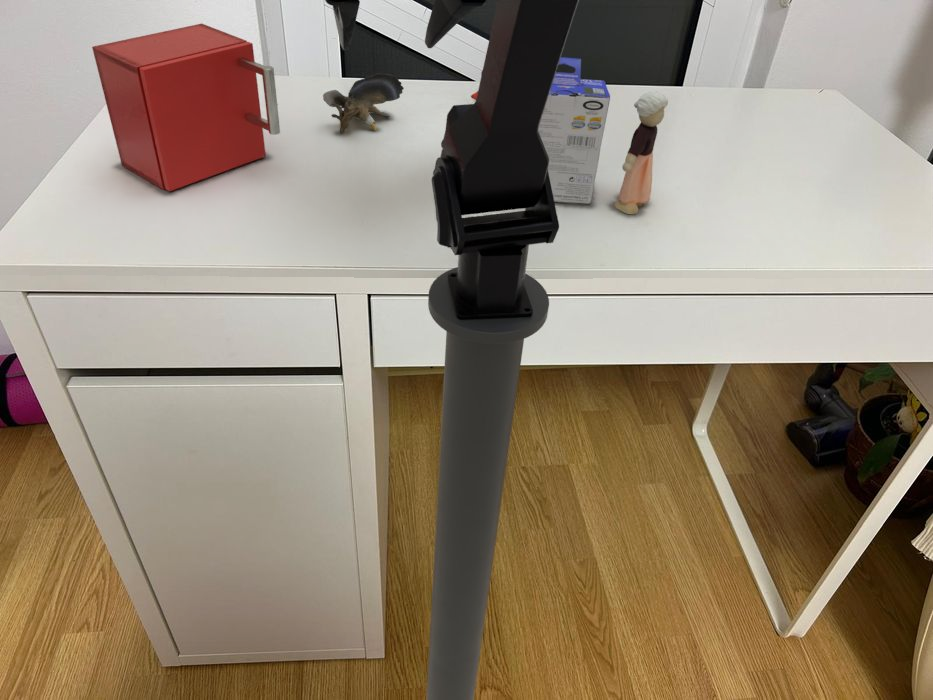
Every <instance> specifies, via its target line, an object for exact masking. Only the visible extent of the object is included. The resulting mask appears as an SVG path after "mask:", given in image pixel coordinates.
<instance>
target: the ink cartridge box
mask: <svg viewBox="0 0 933 700" xmlns="http://www.w3.org/2000/svg"><path fill="white" fill-rule="evenodd" d="M560 65H566V66H569V67H571V68H573V69H574V72H559V71H556V74H555V77H554V80H553V83H552V86H551V90H550V93H549V96H548V99H547V102H546V105H545V108H544V112H543V115H542V118H541V121H540V124H539V129H538V132H539V134H540V137H541V139H542V142H543V144H544V147H545V149H546V152H547V154H548V157H549V166H548V173H549V178H550V183H551V188H552V193H553V198H554V202H555V203H556V202H558V203H571V204H585V205H586V204H587V205H588V204H591V203H592V200H593V194H594V188H595V183H596V178H597V173H598V172H597V171H598V166H599V161H600V154H601V147H602V142H603V138H604V132H605V127H606V121H607V117H608V113H609V105H610V100H611V94H610V92H609V89H608V86H607V84H606V81H605V80H601V79H599V80H598V79H582V78H581V76H582V73H581V72H582V68H581V67H582V59H581V58H575V57H562V56H561V58H560V61H559V65H558V66H560Z"/></svg>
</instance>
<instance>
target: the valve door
mask: <svg viewBox="0 0 933 700" xmlns="http://www.w3.org/2000/svg"><path fill="white" fill-rule="evenodd" d="M253 45H254V44H253V42H250V41H247V42H244V43H240V44H236V45H232V46H228V47H224V48H220V49H215V50H211V51H207V52H203V53H199V54H195V55H190V56H186V57H182V58H178V59H174V60H170V61H165V62H161V63H157V64H153V65H149V66H145V67H141V68H139V70H140V74H141V79H142V83H143V88H144V93H145V97H146V102H147V107H148V111H149V116H150V120H151V125H152V130H153V134H154V139H155V143H156V148H157V153H158V157H159V162H160V167H161V171H162V176H163V180H164V185H165V189H164V190H166V191H168V192H172V191H176V190H177V189H180V188H183V187H185V186H189V185H191V184H193V183H196V182H199V181H202V180H205V179H207V178H210V177H213V176H216V175H219V174H221V173H223V172H227V171H229V170H232V169H235V168H237V167H240V166H243V165H247V164H248V163H251V162H253V161H256V160H259V159H262V158H265V157H266V156H267V154H266V145H265V138H264V130H266V131H268V133H269V135H273V136H276V135H280V134H281V127H280V117H279V107H278V98H277V89H276V79H275V78H276V77H275V70H274V69H275V68H274V67H273V66H271V65H263V64H261V63H260V62H259V63H258V62H256V61H255V53H254V46H253ZM257 74H258V75H261V76H262V85H263V93H264V94H263V95H264V103H265V110H266V118H264V117H262V112H261V104H260V103H261V102H260V96H259V86H258V78H257V77H258V76H257Z"/></svg>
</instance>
